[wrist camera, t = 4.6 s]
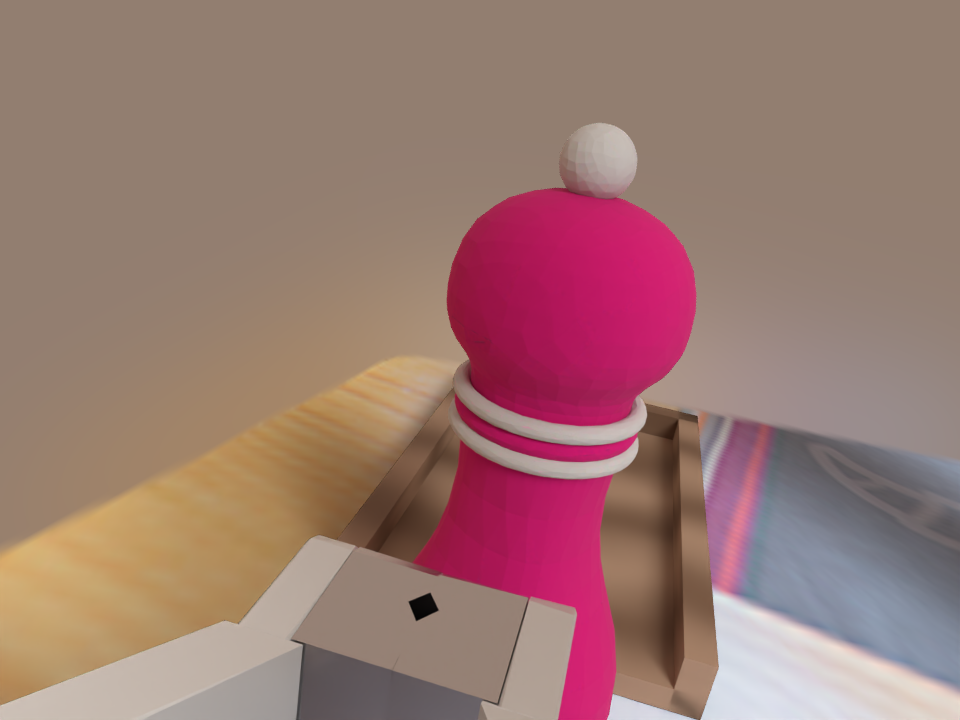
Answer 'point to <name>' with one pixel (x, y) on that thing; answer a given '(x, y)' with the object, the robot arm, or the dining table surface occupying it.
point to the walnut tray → (624, 550)
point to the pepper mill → (558, 388)
